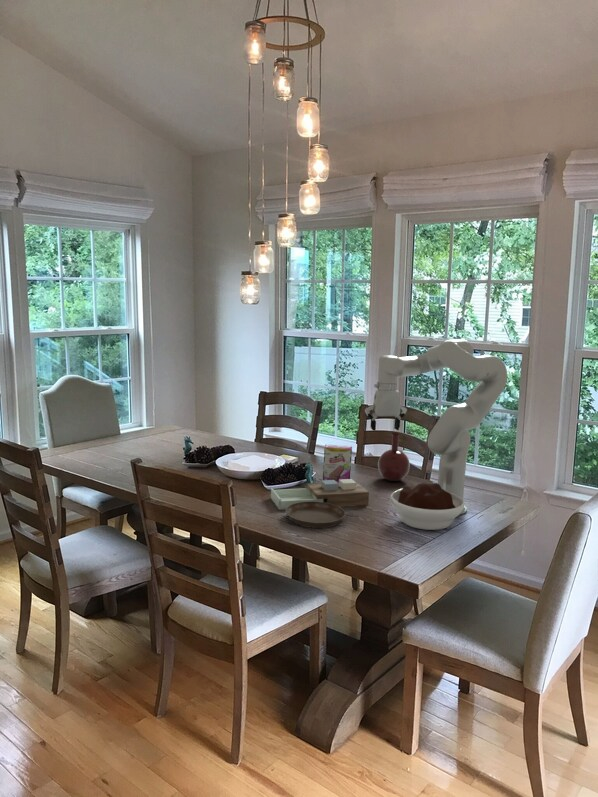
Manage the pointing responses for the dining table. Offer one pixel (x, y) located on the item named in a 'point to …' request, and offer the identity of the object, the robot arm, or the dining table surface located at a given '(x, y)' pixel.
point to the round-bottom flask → (393, 462)
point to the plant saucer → (315, 514)
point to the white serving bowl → (426, 506)
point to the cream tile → (347, 484)
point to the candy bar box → (337, 462)
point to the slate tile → (329, 485)
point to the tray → (292, 497)
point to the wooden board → (340, 495)
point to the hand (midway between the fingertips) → (385, 429)
